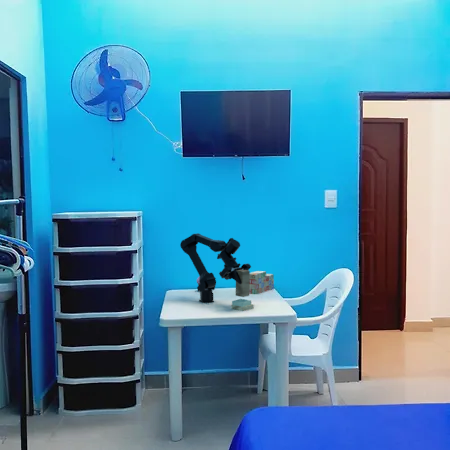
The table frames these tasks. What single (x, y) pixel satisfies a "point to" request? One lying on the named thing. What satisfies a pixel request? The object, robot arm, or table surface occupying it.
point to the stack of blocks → (260, 282)
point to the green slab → (241, 302)
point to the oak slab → (243, 307)
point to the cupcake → (198, 281)
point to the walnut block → (243, 283)
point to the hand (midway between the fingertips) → (244, 283)
